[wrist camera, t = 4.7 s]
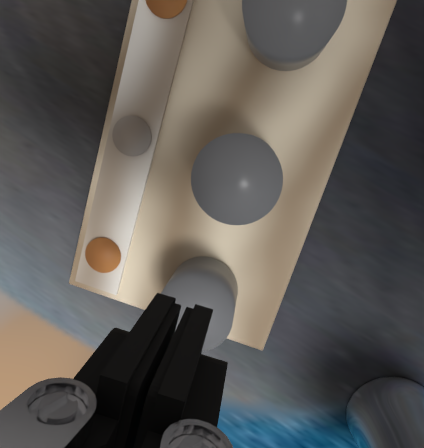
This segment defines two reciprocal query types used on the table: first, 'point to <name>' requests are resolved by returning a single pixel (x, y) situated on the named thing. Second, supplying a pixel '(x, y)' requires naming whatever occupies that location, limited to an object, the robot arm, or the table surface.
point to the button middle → (237, 179)
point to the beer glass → (387, 414)
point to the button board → (200, 136)
